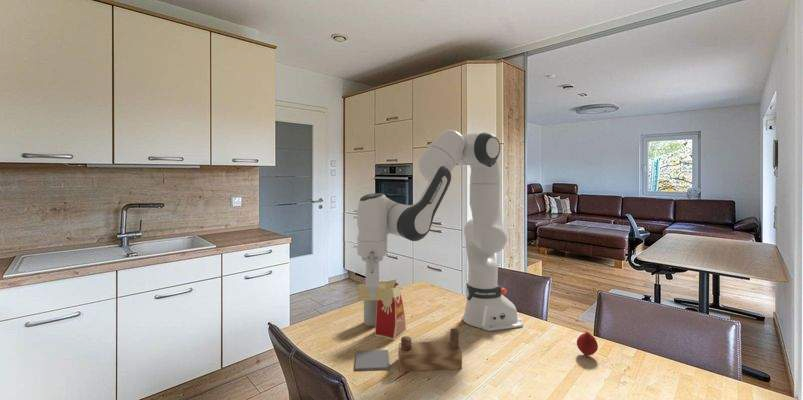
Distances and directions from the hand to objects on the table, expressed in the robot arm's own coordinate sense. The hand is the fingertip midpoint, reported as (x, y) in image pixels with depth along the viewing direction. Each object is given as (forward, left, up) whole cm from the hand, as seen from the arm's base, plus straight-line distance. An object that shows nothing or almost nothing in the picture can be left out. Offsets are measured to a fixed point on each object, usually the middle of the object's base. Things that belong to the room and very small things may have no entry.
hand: (372, 293), depth 107 cm
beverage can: (0, -26, -21) cm, 33 cm away
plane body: (-17, +3, -21) cm, 27 cm away
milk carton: (-6, -18, -21) cm, 28 cm away
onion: (-67, +2, -21) cm, 70 cm away
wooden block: (0, 0, -1) cm, 1 cm away
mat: (0, 0, -21) cm, 21 cm away
